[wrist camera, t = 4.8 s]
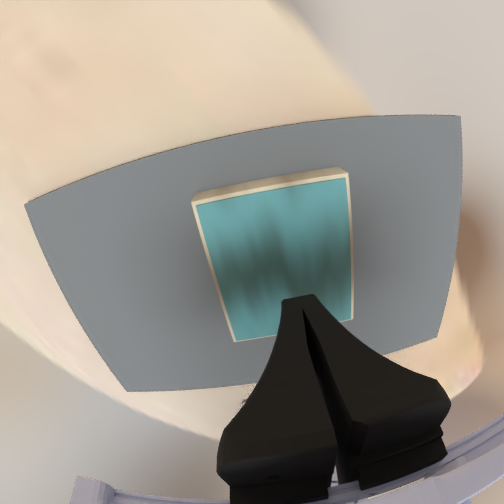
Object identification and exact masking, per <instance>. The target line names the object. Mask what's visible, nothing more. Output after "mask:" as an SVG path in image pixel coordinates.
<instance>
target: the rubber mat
mask: <svg viewBox="0 0 504 504" xmlns="http://www.w3.org/2000/svg"><path fill="white" fill-rule="evenodd" d="M332 167H339V168H341V169H343V170H344V171H346V172H347V173H348V176H349V187H350V199H351V214H352V232H353V261H354V311H353V319H352V320H348V321H343V322H340V323H341V324H342V325H343V326H344V327H345V328H346V329H347V330H348V331H349V332H351V333H352V334H353V335H354V336H355V337H357V338H358V339H359V340H360V341H362V342H363V343H364V344H366V345H367V346H368V347H370V348H371V349H373V350H374V351H376V352H377V353H379V354H380V355H385V354H388V353H391V352H395V351H398V350H401V349H404V348H407V347H410V346H413V345H416V344H419V343H422V342H425V341H428V340H430V339H433V338H436V337H437V335H438V331H439V328H440V324H441V321H442V317H443V313H444V309H445V305H446V301H447V296H448V292H449V287H450V282H451V277H452V272H453V266H454V260H455V254H456V246H457V239H458V231H459V221H460V210H461V195H462V131H461V117H460V116H455V115H385V116H366V117H352V118H341V119H331V120H321V121H313V122H305V123H298V124H291V125H284V126H278V127H272V128H266V129H260V130H255V131H249V132H244V133H239V134H234V135H229V136H225V137H220V138H216V139H211V140H207V141H203V142H199V143H195V144H191V145H187V146H183V147H179V148H176V149H172V150H168V151H165V152H161V153H158V154H154V155H151V156H148V157H144V158H141V159H138V160H135V161H132V162H129V163H126V164H123V165H120V166H117V167H114V168H111V169H108V170H105V171H102V172H100V173H97V174H94V175H92V176H89V177H86V178H84V179H81V180H79V181H76V182H74V183H71V184H69V185H66V186H64V187H61V188H59V189H57V190H54V191H52V192H50V193H47V194H45V195H43V196H41V197H38V198H36V199H34V200H32V201H30V202H28V203H26V204H24V206H25V209H26V211H27V214H28V217H29V220H30V222H31V225H32V227H33V230H34V232H35V235H36V237H37V240H38V242H39V244H40V247H41V249H42V251H43V254H44V256H45V258H46V260H47V262H48V265H49V267H50V269H51V271H52V273H53V275H54V277H55V279H56V281H57V283H58V285H59V287H60V289H61V291H62V293H63V295H64V296H65V298H66V300H67V302H68V304H69V306H70V307H71V309H72V311H73V313H74V314H75V316H76V318H77V319H78V321H79V323H80V324H81V326H82V328H83V329H84V331H85V333H86V334H87V336H88V337H89V339H90V341H91V342H92V344H93V345H94V347H95V348H96V350H97V351H98V353H99V354H100V356H101V357H102V359H103V360H104V362H105V363H106V364H107V366H108V367H109V369H110V370H111V371H112V373H113V374H114V375H115V377H116V378H117V380H118V381H119V382H120V384H121V385H122V386H123V387H124V389H125V390H126V391H127V392H149V391H176V390H192V389H205V388H216V387H225V386H234V385H242V384H250V383H257V382H258V381H259V379H260V377H261V375H262V373H263V371H264V369H265V367H266V365H267V363H268V360H269V358H270V355H271V352H272V349H273V346H274V343H275V340H276V337H277V335H275V336H270V337H264V338H258V339H252V340H245V341H239V342H234V341H233V338H232V335H231V332H230V329H229V326H228V323H227V320H226V317H225V314H224V311H223V308H222V305H221V302H220V299H219V295H218V292H217V289H216V286H215V283H214V279H213V276H212V273H211V270H210V266H209V263H208V260H207V256H206V253H205V250H204V246H203V243H202V239H201V236H200V232H199V229H198V225H197V222H196V218H195V215H194V211H193V208H192V204H191V201H192V199H193V197H194V196H195V194H196V193H198V192H202V191H207V190H211V189H216V188H220V187H225V186H230V185H235V184H240V183H244V182H250V181H255V180H260V179H265V178H271V177H276V176H282V175H288V174H293V173H299V172H306V171H312V170H318V169H325V168H332Z"/></svg>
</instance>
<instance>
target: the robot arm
mask: <svg viewBox="0 0 504 504" xmlns="http://www.w3.org/2000/svg"><path fill="white" fill-rule="evenodd" d="M450 407H451V401H450V399H449V397H448V395H447V394H446V392H445V390H444V389H443V388H442V386H441V385H440V384H439V382H438V381H437V380H436V379H433V378H430V377H427V376H424V375H422V374H419V373H416V372H413V371H411V370H409V369H407V368H404V367H402V366H400V365H398V364H396V363H395V362H393V361H391V360H389V359H387V358H385V357H384V356H382V355H380V354H379V353H377V352H376V351H374V350H373V349H371V348H370V347H368V346H367V345H366V344H364V343H363V342H362V341H360V340H359V339H358V338H357V337H355V336H354V335H353V334H352V333H351V332H349V331H348V330H347V329H346V328H345V327H344V326H343V325H342V324H341V323H340V322H339V321H338V320H337V319H336V318H335V317H334V316H333V315H332V314H331V313H330V312H329V311H328V310H327V309H326V308H325V307H324V305H323V304H322V303H321V302H320V301H319V299H318V298H317V297H316V295H314V294H308V295H303V296H298V297H293V298H288V299H283V300H282V301H281V317H280V324H279V328H278V332H277V337H276V340H275V343H274V346H273V349H272V352H271V355H270V358H269V360H268V363H267V365H266V367H265V369H264V371H263V373H262V375H261V377H260V379H259V381H258V383H257V385H256V387H255V388H254V390H253V392H252V393H251V395H250V396H249V398H248V399H247V401H246V402H244V403H243V404H242V408H241V409H240V411H239V412H238V413H237V414H236V416H235V417H234V418H233V419H232V420H231V422H230V423H229V424H228V425H227V426H226V428H225V429H224V431H223V433H222V437H221V440H220V443H219V448H218V453H217V473H218V475H219V476H220V477H221V478H222V479H223V480H224V481H225V482H226V483H227V484H228V485H229V486H230V499H191V498H176V497H164V496H156V495H148V494H141V493H134V492H128V491H123V490H118V489H114V488H113V487H112V486H110V485H109V484H107V483H105V482H102V481H99V480H96V479H91V478H87V477H84V476H80V475H79V476H77V477H76V481H75V485H74V489H73V493H72V497H71V501H70V504H471V501H470V498H471V497H473V496H474V495H476V494H478V493H479V492H481V491H482V490H484V489H486V488H487V487H489V486H490V485H491V484H493V483H495V482H496V481H497V480H499V479H500V478H501V477H503V476H504V414H502V415H501V416H499V417H498V418H496V419H495V420H493V421H491V422H490V423H488V424H487V425H485V426H483V427H482V428H480V429H478V430H477V431H475V432H473V433H471V434H470V435H468V436H466V437H464V438H462V439H461V440H459V441H457V442H455V443H453V444H451V445H449V446H447V447H445V445H444V443H443V441H442V438H441V437H442V436H443V431H442V429H441V427H440V425H441V423H442V422H443V420H444V418H445V417H446V416H447V414H448V412H449V410H450ZM425 476H426V477H425ZM423 477H425V478H424V480H422V481H419V482H417V483H414V484H412V485H409V486H407V487H404V488H401V489H399V490H396V491H393V492H390V493H388V494H385V495H381V496H379V497H375V498H372V499H369V500H368V497H371V496H375V495H378V494H381V493H384V492H387V491H390V490H393V489H395V488H398V487H401V486H403V485H406V484H409V483H411V482H414V481H416V480H418V479H421V478H423Z"/></svg>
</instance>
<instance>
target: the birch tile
mask: <svg viewBox="0 0 504 504" xmlns="http://www.w3.org/2000/svg"><path fill="white" fill-rule="evenodd" d="M191 204H192V208H193V211H194V215H195V218H196V222H197V225H198V229H199V232H200V236H201V239H202V243H203V246H204V250H205V253H206V256H207V260H208V263H209V266H210V270H211V273H212V276H213V279H214V283H215V286H216V289H217V292H218V295H219V299H220V302H221V305H222V308H223V311H224V314H225V317H226V320H227V323H228V326H229V329H230V332H231V335H232V338H233V341H234V342H239V341H245V340H252V339H258V338H264V337H270V336H275V335H277V332H278V328H279V324H280V317H281V301H282V300H283V299H288V298H293V297H298V296H303V295H308V294H314V295H316V297H317V298H318V299H319V301H320V302H321V303H322V304H323V305H324V307H325V308H326V309H327V310H328V311H329V312H330V313H331V314H332V315H333V316H334V317H335V318H336V319H337V320H338V321H339V322H343V321H348V320H352V319H353V311H354V261H353V232H352V214H351V199H350V187H349V176H348V173H347V172H346V171H344V170H343V169H341V168H339V167H332V168H325V169H318V170H312V171H306V172H299V173H293V174H288V175H282V176H276V177H271V178H265V179H260V180H255V181H250V182H244V183H240V184H235V185H230V186H225V187H220V188H216V189H211V190H207V191H202V192H198V193H196V194H195V196H194V197H193V199H192V201H191Z"/></svg>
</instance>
